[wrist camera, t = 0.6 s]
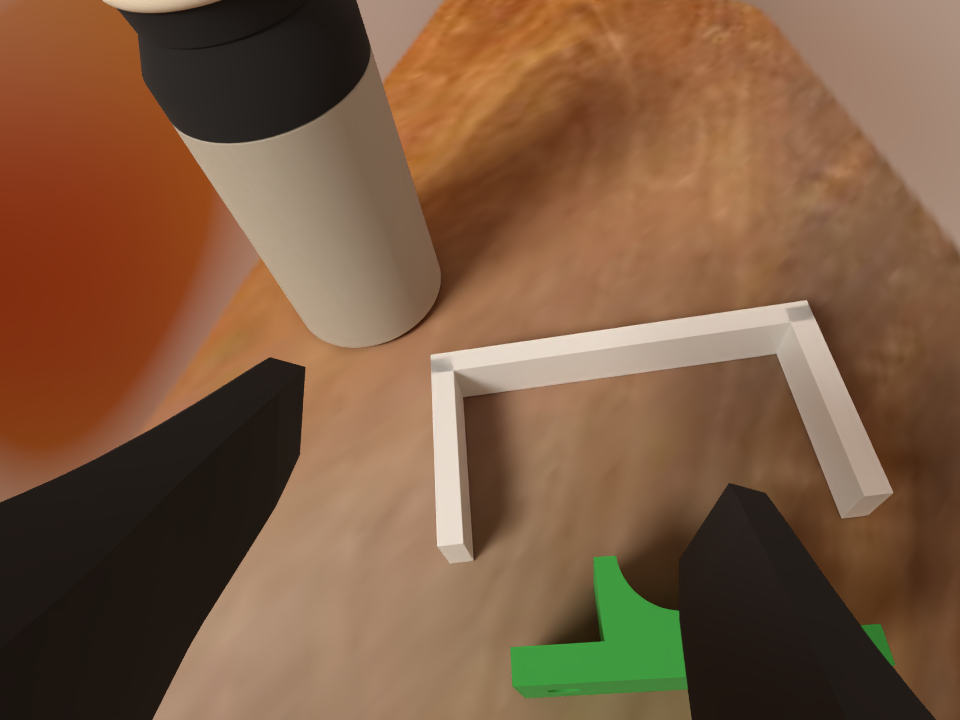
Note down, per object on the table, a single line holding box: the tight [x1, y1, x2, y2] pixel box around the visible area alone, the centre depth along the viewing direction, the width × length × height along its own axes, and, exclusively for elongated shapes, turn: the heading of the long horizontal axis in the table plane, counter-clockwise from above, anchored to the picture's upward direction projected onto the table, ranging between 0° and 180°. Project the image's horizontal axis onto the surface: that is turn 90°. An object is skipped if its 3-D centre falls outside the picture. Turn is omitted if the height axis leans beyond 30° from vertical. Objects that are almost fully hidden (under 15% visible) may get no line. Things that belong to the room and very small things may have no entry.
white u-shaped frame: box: [431, 300, 893, 563], centre depth 27 cm, size 9×17×2 cm, turn 94°
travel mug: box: [102, 0, 441, 348], centre depth 27 cm, size 8×8×18 cm
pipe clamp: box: [510, 556, 895, 698], centre depth 22 cm, size 11×4×5 cm, turn 92°
